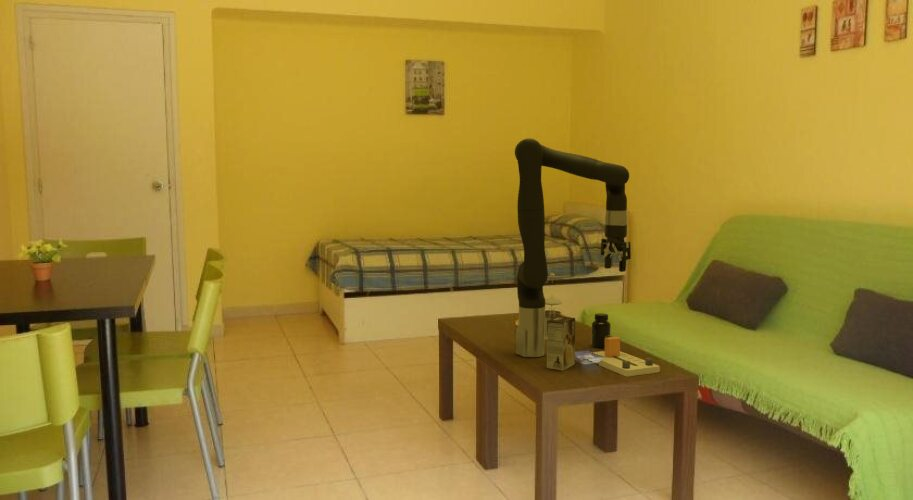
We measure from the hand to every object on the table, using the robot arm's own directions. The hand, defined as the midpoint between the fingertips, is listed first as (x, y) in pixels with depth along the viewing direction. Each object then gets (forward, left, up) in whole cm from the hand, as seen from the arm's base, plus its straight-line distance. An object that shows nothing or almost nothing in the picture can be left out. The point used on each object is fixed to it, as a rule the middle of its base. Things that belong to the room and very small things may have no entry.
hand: (614, 269), depth 269 cm
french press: (-6, +32, -30) cm, 44 cm away
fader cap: (-6, -8, -28) cm, 30 cm away
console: (-6, -13, -30) cm, 33 cm away
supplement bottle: (+3, +12, -30) cm, 33 cm away
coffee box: (-25, -6, -30) cm, 40 cm away
